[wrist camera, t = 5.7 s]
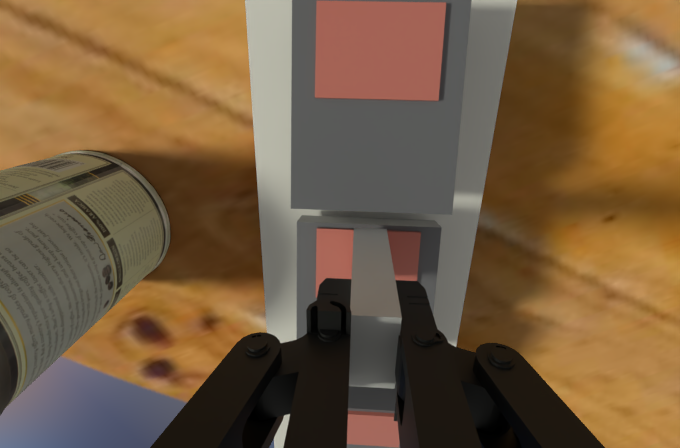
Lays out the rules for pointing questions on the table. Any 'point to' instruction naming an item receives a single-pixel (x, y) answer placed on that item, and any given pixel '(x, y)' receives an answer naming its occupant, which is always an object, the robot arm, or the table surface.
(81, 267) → the coffee can
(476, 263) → the table surface
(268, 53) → the power strip
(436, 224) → the rocker
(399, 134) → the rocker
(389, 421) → the rocker
